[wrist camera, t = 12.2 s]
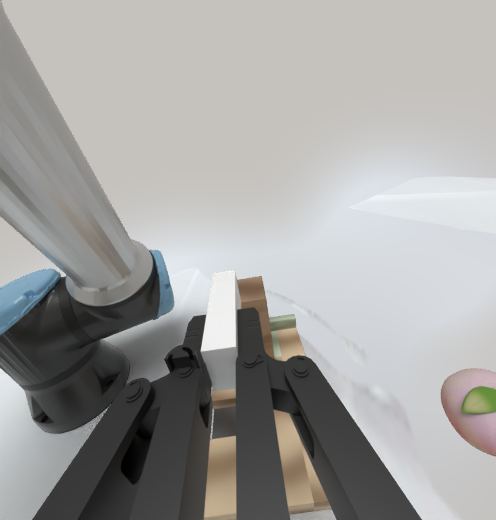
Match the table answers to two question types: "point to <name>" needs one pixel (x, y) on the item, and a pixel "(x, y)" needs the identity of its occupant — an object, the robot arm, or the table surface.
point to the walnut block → (257, 307)
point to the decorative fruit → (472, 406)
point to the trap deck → (290, 445)
